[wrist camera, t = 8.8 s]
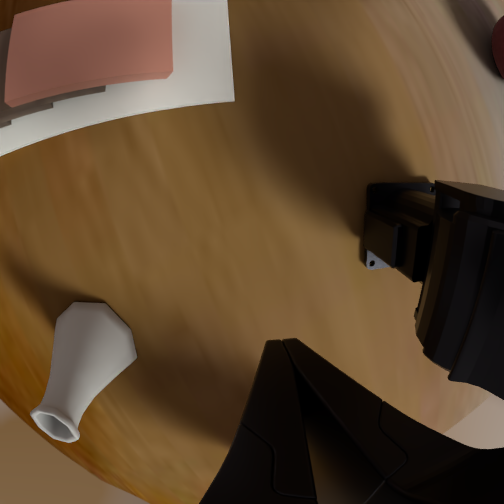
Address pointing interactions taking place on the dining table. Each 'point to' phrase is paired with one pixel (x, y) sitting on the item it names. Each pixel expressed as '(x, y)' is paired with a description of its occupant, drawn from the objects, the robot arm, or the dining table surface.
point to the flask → (82, 365)
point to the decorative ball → (498, 45)
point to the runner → (147, 81)
